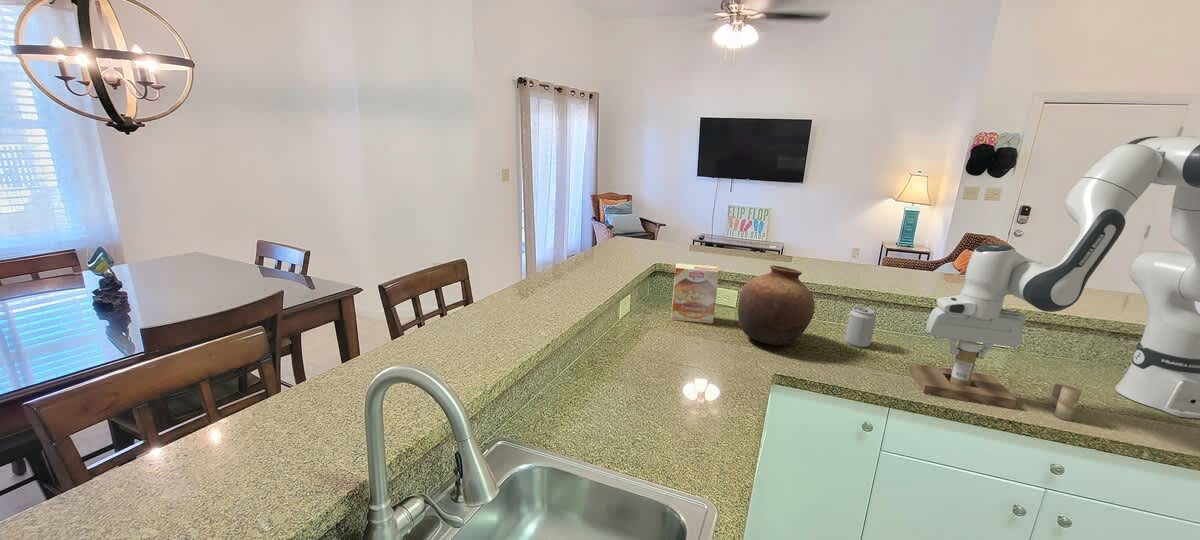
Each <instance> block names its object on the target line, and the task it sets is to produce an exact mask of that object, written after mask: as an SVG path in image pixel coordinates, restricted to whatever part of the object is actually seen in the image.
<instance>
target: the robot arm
mask: <svg viewBox="0 0 1200 540" xmlns="http://www.w3.org/2000/svg"><path fill="white" fill-rule="evenodd" d="M1151 184H1154V185H1159V186H1175V190H1174V193H1173V198H1172V202H1171V203H1172V204H1171V214H1170V223H1169V234H1170V236H1171V238H1172V239H1173V240H1174V241H1175V242H1177V243H1178V244H1179V245H1181V246H1182V247H1184V248H1185V249H1186V250H1187V251H1188V252H1189V253H1184V252H1178V251H1173V250H1172V251H1171V250H1170V251H1165V250H1149V251H1145V252H1143V253H1141V254H1139V255H1138V256H1136V257H1135V258H1134V259H1133V260H1132V262H1131V263H1130V265H1129V268H1128V273H1129V278H1130V280H1131V281H1132V282H1133V283H1134V284H1135V285H1136V286H1137V287H1138V289H1139V290H1140V291H1141V293H1142V295H1143V297H1144V299H1145V302H1146V306H1147V320H1146V323H1145V327H1144V331H1143V334H1142V337H1141V339H1140V340H1141V341H1138V343H1137V345H1136V347H1135V349H1134V351H1133V355H1132V359H1131V364H1130V366H1129V368H1128V370H1127V371H1126V373H1125V374H1124V376H1123V377H1122V378H1121V379H1120V381H1119V382H1118V383H1117V384H1116V385H1115V387H1114V389H1115V391H1116V392H1117V393H1118V394H1120V395H1122V396H1123V397H1125V398H1128V400H1129V399H1130V400H1132V401H1134V402H1136V403H1138V404H1139V403H1140V404H1142V405H1144V406H1148V407H1152V408H1155V409H1158V410H1160V411H1164V412H1166V413H1168V414H1170V415H1173V416H1175V417H1181V418H1187V419H1188V418H1189V419H1200V312H1199V311H1198V309H1197V307H1196V303H1195V302H1197V303H1200V136H1194V135H1192V136H1191V135H1182V136H1181V135H1180V136H1153V135H1152V136H1144V137H1140V138H1136V139H1133V140H1131V141H1129V142H1128V143H1126V144H1122V145H1119V146H1117V147H1115V148H1113V149H1112V150H1110V152H1107V154H1104V156H1103V157H1102V158H1101V159H1099V160H1098V161H1096V162H1095V164H1093V165H1092V167H1090V168H1089V169H1088V170H1087V171H1086V172H1085V173H1084V174H1083V175H1082V176H1081V177H1080V179H1078V181H1077V182H1076V183H1075V184H1074V185H1073V186H1072V187H1071V188H1070V190H1069V191H1068V193H1067V195H1066V197H1065V199H1064V207H1065V208H1064V209H1065V210H1066V214H1068V216H1069V217H1070V218H1071V219H1072V221H1074V222H1075V223H1076V224H1077V225H1078V227H1079V233H1078V236H1077V238H1076V239H1075V240H1074V242H1073V243H1072V245H1071V246H1070V248H1068V250H1067V252H1066V253H1065V254H1064V256H1063V257H1062V259H1061V260H1060V261H1059V262H1058V263H1056V264H1054V265H1052V266H1049V265H1047V264H1044V263H1041V262H1039V261H1035V260H1033V259H1030V258H1028V257H1026V256H1024V255H1022V254H1021V253H1019V252H1018V251H1016V250H1015V249H1014V247H1013V246H1010V245H1008V244H1001V243H1000V244H997V243H991V244H990V243H988V244H983V245H982V244H981V245H979V246H978V247H976V248H975V249H974V250H973V252H972V254H971V256H970V257H969V260H968V263H967V267H966V270H965V274H964V279H965V280H964V285H963V287H962V289H961V291H960V294H956V295H951V296H943V297H942V296H941V297H939V298H938V297H937V299H936V307H934V308H933V309H932V311H931V312H930V314H929V317H928V319H927V322H926V326H925V329H926V331H927V333H928V334H929V335H930V336H932V337H938V338H944V339H947V342H948V343H949V345H950V350H949V353H950V355H952V356H953V355H954V356H956V355H959V351H960V349H959V348H958V346H956V344H958V343H957V342H958V341H959V340H965V341H973V342H977V343H979V344H981V343H982V344H983V346H982V347H980V349H979V351H978V353H977V357H976V359H980V360H982V359H983V360H984V359H985V356H986V354H987V353H988V352H990V351H991V350H992V349H993V347H994V346H1002V347H1010V348H1017V347H1018V346H1020V345H1021V343H1022V340H1023V339H1022V338H1023V332H1024V330H1023V328H1024V326H1026V325H1025V324H1026V323H1027V317H1026V315H1025V314H1024V313H1022V312H1021V311H1019V310H1010V309H1009V310H1008V309H1004V308H1003V304H1004V300H1005V297H1006V296H1007V295H1008V296H1009V295H1012V296H1013V297H1015V298H1017V299H1019V300H1021V301H1024V302H1026V303H1027V304H1029V305H1032V307H1034V308H1036V309H1038V310H1040V311H1042V312H1047V313H1055V312H1061V311H1063V310H1066V309H1068V308H1069V307H1071V306H1073V305H1074V304H1076V303H1077V302H1078V300H1079V299H1080V298H1081V296H1082V294H1083V292H1084V290H1085V287H1086V284H1087V283H1088V281H1089V279H1090V278H1091V276H1092V275H1093V273H1094V272H1095V271H1096V269H1097V268H1098V267H1099V265H1100V264H1101V262H1102V261H1103V260H1104V259H1105V258H1106V256H1107V255H1108V253H1109V252H1110V250H1111V249H1112V248H1113V247H1114V245H1115V244H1116V243H1117V240H1118V239H1119V237H1120V236H1121V235H1122V233H1123V230H1124V229H1125V226H1126V215H1127V213H1128V212H1129V210H1130V209H1131V207H1132V206H1133V205H1134V204H1135V203H1136V202H1137V201H1138V200H1139V198H1140V197H1141V196H1142V195H1143V194H1144V193H1145V191H1146V190H1147V189H1148V188H1149V186H1150V185H1151Z"/></svg>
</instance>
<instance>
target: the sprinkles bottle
mask: <svg viewBox="0 0 1200 540" xmlns="http://www.w3.org/2000/svg"><path fill="white" fill-rule="evenodd" d="M957 342H958V343H957V347H958V348H959V349H960V351H959V355H955V357H954V361H953V366H952V369H953V370H952V374H951V379H950V383H951V384H957V385H964V386H970V381H971V379H972V375H973V373H974V370H975V369H974V368H975V364H976V360H977V358H976V357H977V353H978V351H979V350H980V349H981V343H979V342H973V341H965V340H958V341H957Z"/></svg>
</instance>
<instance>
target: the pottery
mask: <svg viewBox="0 0 1200 540" xmlns="http://www.w3.org/2000/svg"><path fill="white" fill-rule="evenodd" d="M769 267H770V270H771V271H770V272H768V273H766V274H762V275H759V276H757V277H755V278H752V279H750V280H749V281H748V282H746V283H745V284H744V285H743V287H742V289H741V290H740V294H739V298H738V302H737V303H738V305H737V306H738V307H737V319H738V320H737V321H738V324H739V327H740V329H741V331H742V332H743V334H745V336H748V337H749V338H751V339H752V340H754V341H758V342H760V343H764V344H768V345H773V346H774V345H775V346H785V345H789V344H791V343H793V342H796V340H798V339H799V338H800V337H801V335H802V334H803V333H804V332H805V331H806V329H807V327H808V326H809V324H810V323H811V321H812V319H813V316H814V314H815V306H816V305H815V299H814V295H813V294H812V293H811V291H810V289H809V288H808V287H807V285H806V284H804V283H803V282H802V281H801V280H800V279H799V277H800V276H801V275H802V274H803V272H802V271H801V270H797V269H793V268H789V267H786V266H779V265H774V264H772V265H769Z"/></svg>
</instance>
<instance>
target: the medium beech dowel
mask: <svg viewBox="0 0 1200 540" xmlns="http://www.w3.org/2000/svg"><path fill="white" fill-rule="evenodd" d="M1081 394H1082V391H1081V390H1080V389H1078V388H1076V387H1073V386H1069V385H1068V386H1067V385H1064V386H1062V389H1061V392H1060V396H1059V399H1058V403H1057V407H1055V411H1054V417H1056V418H1058V419H1060V420H1063V421H1069V422H1073V421H1074V419H1075V415H1076V412H1077V408H1078V405H1079V401H1080V398H1081Z"/></svg>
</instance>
